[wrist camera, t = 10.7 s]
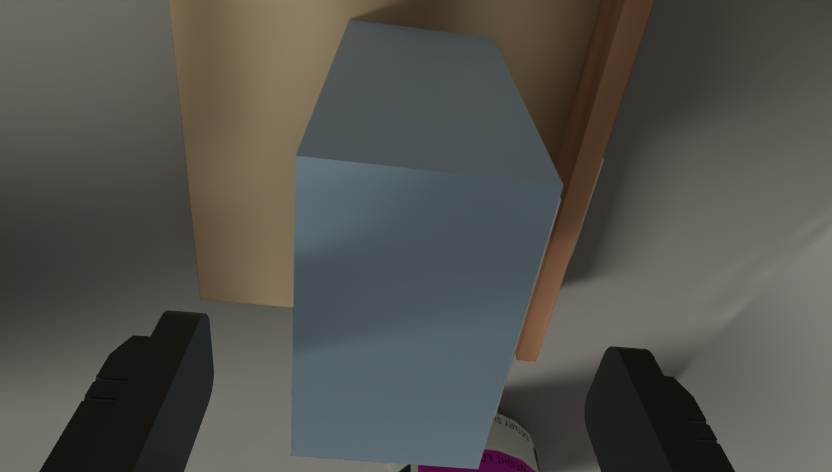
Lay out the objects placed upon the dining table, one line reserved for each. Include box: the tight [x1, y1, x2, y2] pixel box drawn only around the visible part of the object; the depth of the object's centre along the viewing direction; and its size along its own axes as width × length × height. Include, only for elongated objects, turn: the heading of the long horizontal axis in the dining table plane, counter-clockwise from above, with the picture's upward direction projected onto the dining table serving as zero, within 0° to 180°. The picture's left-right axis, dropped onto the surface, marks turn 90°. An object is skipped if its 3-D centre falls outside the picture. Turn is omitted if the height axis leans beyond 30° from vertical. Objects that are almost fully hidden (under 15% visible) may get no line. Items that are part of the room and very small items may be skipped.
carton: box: [291, 19, 564, 469], centre depth 16 cm, size 8×5×10 cm, turn 173°
